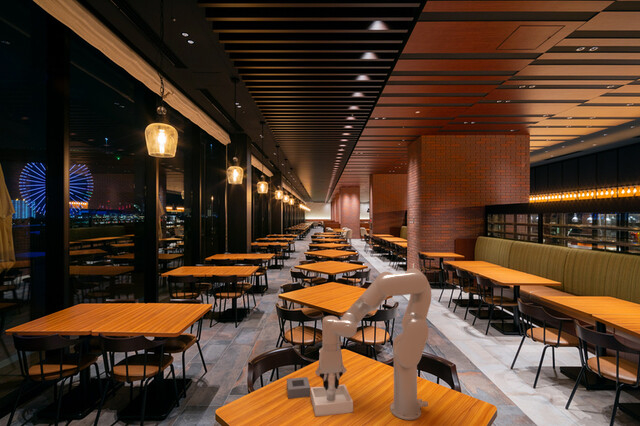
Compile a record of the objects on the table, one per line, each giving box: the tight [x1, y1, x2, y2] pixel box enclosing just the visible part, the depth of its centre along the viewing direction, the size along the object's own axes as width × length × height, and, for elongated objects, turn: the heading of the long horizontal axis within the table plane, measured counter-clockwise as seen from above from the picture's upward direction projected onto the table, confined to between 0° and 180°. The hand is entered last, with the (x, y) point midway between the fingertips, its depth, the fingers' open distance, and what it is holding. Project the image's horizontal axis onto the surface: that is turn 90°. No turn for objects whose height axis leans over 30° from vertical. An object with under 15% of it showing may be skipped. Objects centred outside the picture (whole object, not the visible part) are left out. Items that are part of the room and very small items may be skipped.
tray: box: [310, 384, 354, 417], centre depth 137 cm, size 16×14×4 cm
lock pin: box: [326, 373, 336, 401], centre depth 137 cm, size 4×4×12 cm
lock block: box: [286, 376, 311, 400], centre depth 147 cm, size 10×10×4 cm
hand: (331, 387), depth 137 cm, fingers closed on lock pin, 4 cm apart
